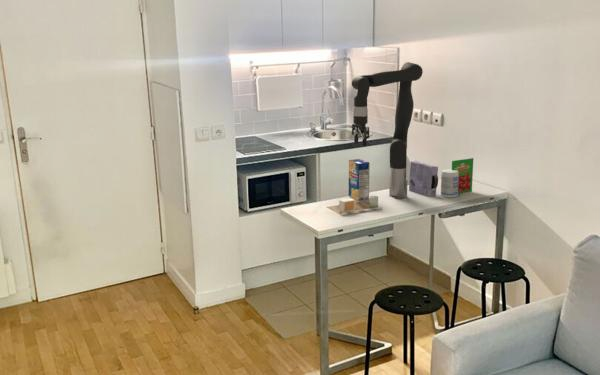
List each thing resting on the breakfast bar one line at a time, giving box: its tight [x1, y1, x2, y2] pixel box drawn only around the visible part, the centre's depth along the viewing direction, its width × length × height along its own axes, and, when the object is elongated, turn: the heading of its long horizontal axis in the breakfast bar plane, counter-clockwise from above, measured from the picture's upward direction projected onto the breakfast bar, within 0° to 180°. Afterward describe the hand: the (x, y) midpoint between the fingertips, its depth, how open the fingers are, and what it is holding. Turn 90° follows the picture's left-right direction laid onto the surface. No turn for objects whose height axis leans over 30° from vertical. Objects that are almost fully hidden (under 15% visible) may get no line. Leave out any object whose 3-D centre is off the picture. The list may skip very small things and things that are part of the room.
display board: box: [326, 200, 383, 217], centre depth 346 cm, size 24×18×2 cm
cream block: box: [338, 197, 356, 213], centre depth 340 cm, size 7×5×6 cm, turn 116°
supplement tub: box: [440, 168, 459, 199], centre depth 368 cm, size 10×10×15 cm
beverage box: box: [348, 158, 370, 202], centre depth 363 cm, size 7×11×22 cm, turn 26°
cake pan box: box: [408, 160, 439, 198], centre depth 374 cm, size 19×5×18 cm, turn 34°
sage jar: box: [369, 195, 379, 208], centre depth 345 cm, size 4×4×6 cm
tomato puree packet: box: [451, 157, 474, 195], centre depth 372 cm, size 15×1×20 cm, turn 116°
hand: (360, 144), depth 349 cm, fingers open, 8 cm apart
